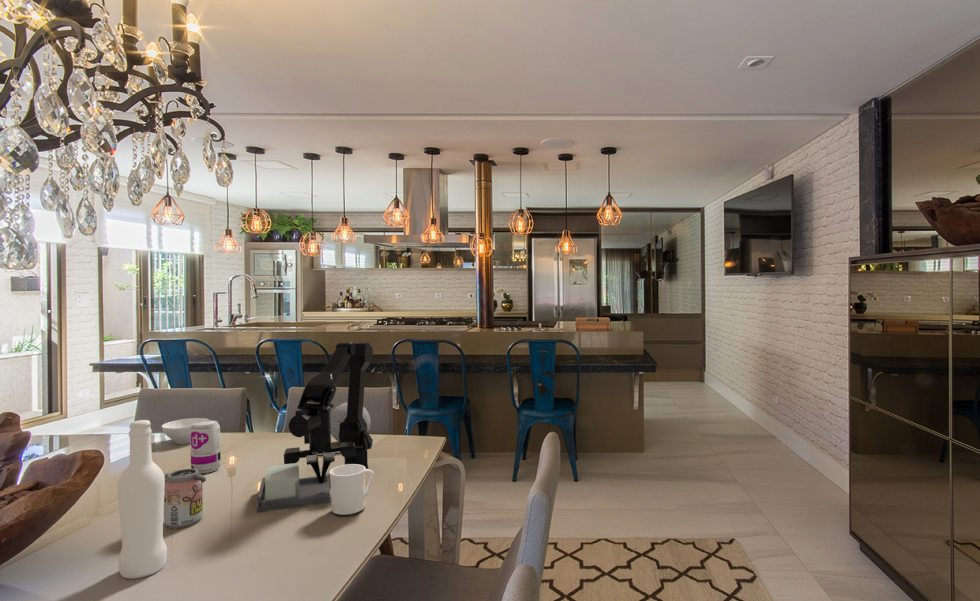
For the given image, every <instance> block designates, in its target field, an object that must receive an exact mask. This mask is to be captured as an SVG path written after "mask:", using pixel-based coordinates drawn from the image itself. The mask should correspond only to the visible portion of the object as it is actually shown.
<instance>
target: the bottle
mask: <svg viewBox="0 0 980 601" xmlns="http://www.w3.org/2000/svg"><path fill="white" fill-rule="evenodd" d="M151 425H152V424H151V421H150V420H148V419H140V420H135V421H132V422H131V423H130V424H129V429H130V430H129V432H128V437H129V464H128V466H127V467H126V468H125V469H124V470H123V472H122V473H121V474H120V476H119V479H118V482H117V486H116V487H117V490H116V492H117V501H118V511H119V512H118V513H119V522H120V524H119V525H120V530H121V531H120V533H121V551H120V552H119V555H118V556H119V557H118V560H117V561H118V570H119V574H120V576H121V577H122V578H124V579H129V580H131V579H132V580H133V579H134V580H135V579H142V578H145V577H149V576H151V575H154V574H156V573H157V572H159V571H160V570H162V569H163V568H164V566H165V564H166V562H167V558H168V548H167V544H166V542H165V540H164V536H163V535H164V534H163V532H164V531H163V527H164V488H165V483H166V482H165V480H166V478H165V474H164V472H163V470H162V468H160V467H159V466H158V464H156V463H155V462H154V461H153V452H152V437H151V436H152V429H151Z"/></svg>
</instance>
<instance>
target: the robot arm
mask: <svg viewBox="0 0 980 601" xmlns="http://www.w3.org/2000/svg"><path fill="white" fill-rule="evenodd" d="M373 354H374V348H373V346H372V345H371V344H370V343H369V342H368V341H367V342H365V341H364V342H363V341H361V342H360V341H359V342H356V341H355V342H351V341H350V342H347V341H346V342H338V343H337V344H336V345H335V350H334V351H333V353H332V355H331V356H330V358H329V359H328V361H327V362H326V364H325V366H324V367H323V369H322V371H321V372H320V373H319V374H317V375H315V376H313V377H312V378H311V379H309V381H308V382H307V384H305V387H304V388H303V392H302V393H301V397H300V400H299V403H298V404H297V410H295V415H294V416H292V417H291V419H290V420H289V423H288V430H289V432H290V433H291V435H292V436H293V437H295V438H303V442H304V445H309V449H305V450H301V449H300V447H289V448H288V447H287V448H286V449H285V450H284V452H283V453H284V454H283V465H289V464H298V462H299V461H300V459H304V458H306V465H309V466H311V469H312V470H313V471H314V473H315V476H317V478H318V481H319V483H320V484H323V481H324V478H325V475H327V472H328V469H329V467H330V465H331V463H334V462H335V459H336V458H335V456H336V455H338V454H339V455H341V456H342V457H343V458H344V459H343V461H344V465H347V464H358V465H363V466H365V468H366V469H369V465H368V464H369V463H368V450H370V449H372V447H373V441H374V440H373V438H372V436H371V435H370V434H369V431H368V432H367V424H366V422H365V420H364V418H363V407H364V397H365V383H366V382H365V380H366V379H365V378H366V370H367V369H368V367H369V366H370V364H371V363H372V357H373ZM346 366H347V367H348V370H349V374H348V391H347V402H348V403H347V402H346V403H347V416H346V418H345V420H344V421H343V422H341V423H340V425H339V427H340V430H339V441H338V442H339V445H340V446H334V447H333V446H332V435H331V418H330V415H331V409H334V407H335V406H334V404H333V403H332V401H333V399H334V397H335V395H336V393H337V385H336V384H337V381H338V379H339V378H340V376H341V374H342V372H343V371H344V369H345V368H346ZM320 456H323V457H322V465H321V468H320V463H319V457H320Z"/></svg>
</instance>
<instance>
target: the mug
mask: <svg viewBox="0 0 980 601" xmlns="http://www.w3.org/2000/svg"><path fill="white" fill-rule="evenodd" d="M367 472H368V473H370V477H369V480H368V484H367V486H366V473H367ZM328 473H329V483H330V495H331V502H330V503H331V512H332V514H333V515H334V516H336V517H341V518H342V517H344V518H345V517H353V516H356V515H359V514H361V513H362V512H364V510H365V507H366V506H365V505H366V504H365V503H366V499H365V498H366V497H367V496H368V495H369V492H370V489H371V487H372V483H373V480H374V477H375V473H374V471H373V470H372V469H369V468H368V469H366V468H365V466H363V465H358V464H347V465H345V464H341V465H337V466H335V467H332V468H331V469H329V472H328Z"/></svg>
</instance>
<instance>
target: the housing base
mask: <svg viewBox="0 0 980 601" xmlns="http://www.w3.org/2000/svg"><path fill="white" fill-rule="evenodd" d="M265 480H266V477H262V478H261V483H260V487H259V491H258V494H257V503H256V513H263V511H264V512H269V510H271V511H277V510H276V509H278V510H283V509H285V510H286V509H290V508H291V509H292V508H298V507H306V506H311V505H319V504H327V503H332V502H331V485H330V477H328V474H326V475H325V478H324V481H323V484H320V483H319V481H318V478H317V476H316V475H315V476H308V477H301V478H300V477H299V496H295V497H288V498H280V499H273V500H265Z"/></svg>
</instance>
